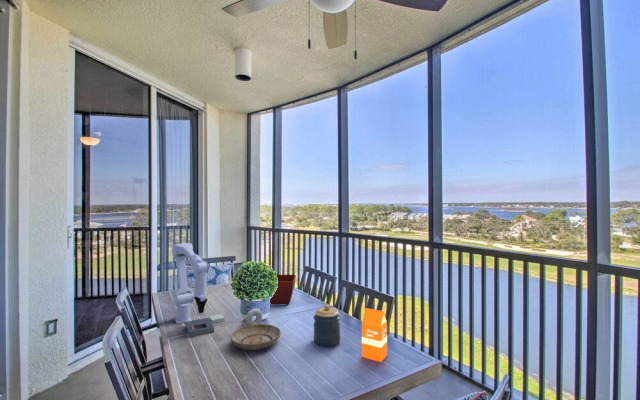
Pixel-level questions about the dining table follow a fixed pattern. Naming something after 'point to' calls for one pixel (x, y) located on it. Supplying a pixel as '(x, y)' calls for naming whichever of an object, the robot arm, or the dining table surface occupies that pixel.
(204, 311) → the barrel peg
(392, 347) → the dining table surface
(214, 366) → the dining table surface
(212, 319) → the pale green block
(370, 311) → the orange juice
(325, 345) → the canister
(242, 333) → the brown shallow round bowl
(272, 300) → the plant pot
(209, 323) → the hole plate
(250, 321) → the grey stone ring
